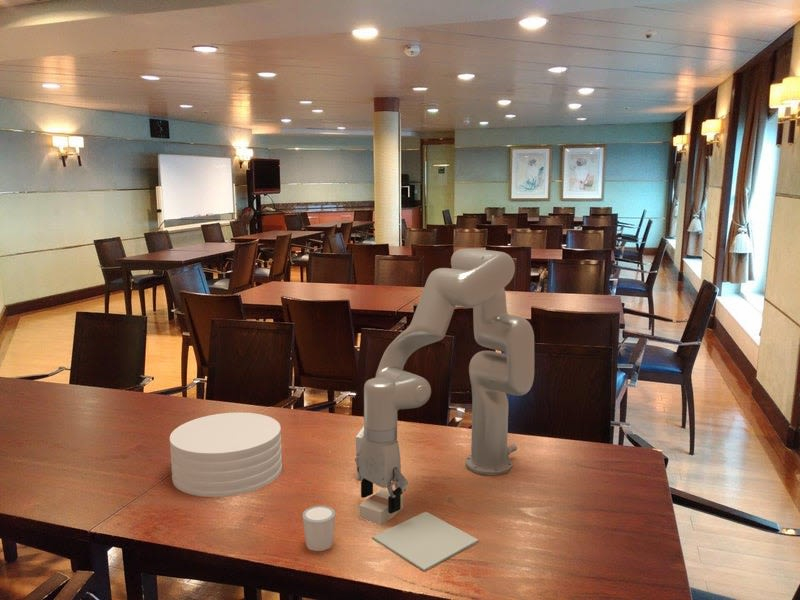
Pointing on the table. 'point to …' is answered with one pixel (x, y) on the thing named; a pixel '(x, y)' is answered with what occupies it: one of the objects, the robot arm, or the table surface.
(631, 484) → the table surface
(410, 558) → the mat
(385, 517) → the card box
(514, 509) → the table surface
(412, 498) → the table surface
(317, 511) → the shot glass
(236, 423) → the plate stack
